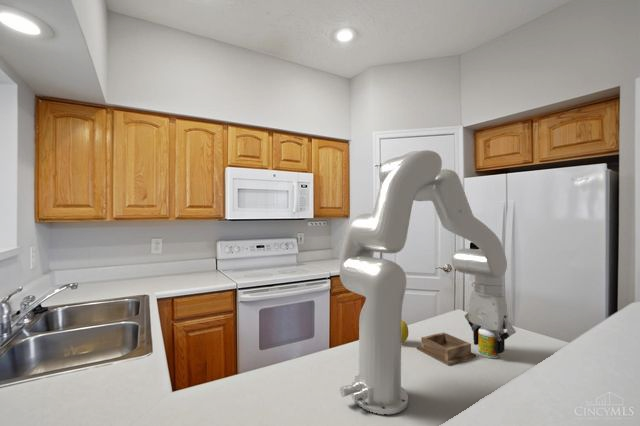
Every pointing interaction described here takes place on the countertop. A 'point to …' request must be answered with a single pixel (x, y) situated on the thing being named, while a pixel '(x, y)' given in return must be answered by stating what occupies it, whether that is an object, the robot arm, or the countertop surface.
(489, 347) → the supplement bottle
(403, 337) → the lemon
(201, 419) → the countertop surface
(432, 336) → the brown square bottle holder
